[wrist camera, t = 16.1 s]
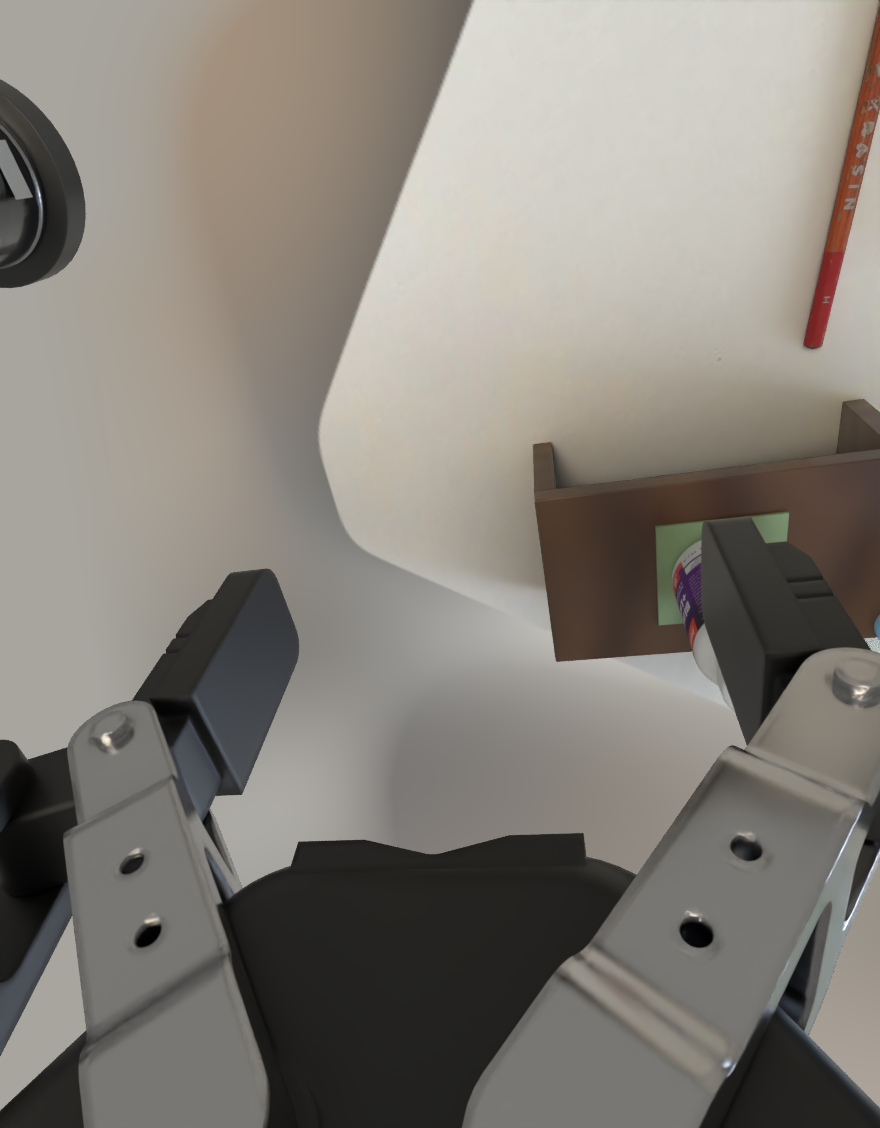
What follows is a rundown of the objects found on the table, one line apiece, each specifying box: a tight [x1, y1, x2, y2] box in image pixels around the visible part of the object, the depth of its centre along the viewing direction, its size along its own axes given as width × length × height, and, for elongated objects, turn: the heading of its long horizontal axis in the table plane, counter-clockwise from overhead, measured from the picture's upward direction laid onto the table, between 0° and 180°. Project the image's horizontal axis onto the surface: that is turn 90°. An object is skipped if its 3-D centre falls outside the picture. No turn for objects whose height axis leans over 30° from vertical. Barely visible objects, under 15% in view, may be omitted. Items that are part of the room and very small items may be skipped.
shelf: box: [533, 399, 880, 662], centre depth 43 cm, size 20×12×8 cm, turn 101°
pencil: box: [804, 7, 880, 349], centre depth 35 cm, size 19×1×1 cm, turn 3°
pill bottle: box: [672, 540, 735, 711], centre depth 36 cm, size 5×5×10 cm
